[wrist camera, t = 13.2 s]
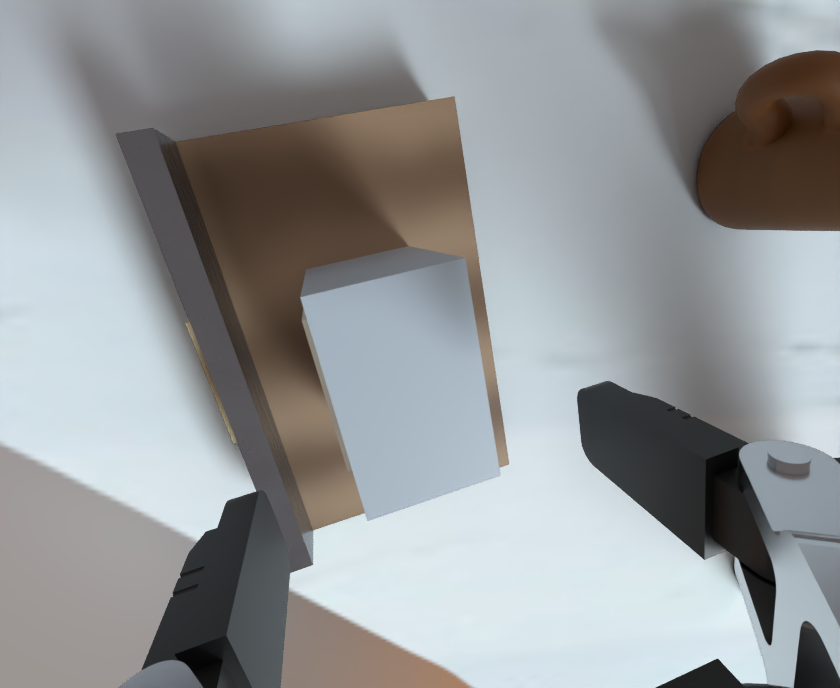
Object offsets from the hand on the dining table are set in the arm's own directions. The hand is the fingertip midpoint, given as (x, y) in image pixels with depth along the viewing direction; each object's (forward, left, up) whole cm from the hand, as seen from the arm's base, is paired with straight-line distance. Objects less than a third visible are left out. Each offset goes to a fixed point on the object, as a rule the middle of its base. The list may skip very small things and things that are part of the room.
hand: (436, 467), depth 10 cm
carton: (0, 0, -12) cm, 12 cm away
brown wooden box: (0, 0, -15) cm, 15 cm away
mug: (+5, -24, -15) cm, 29 cm away
